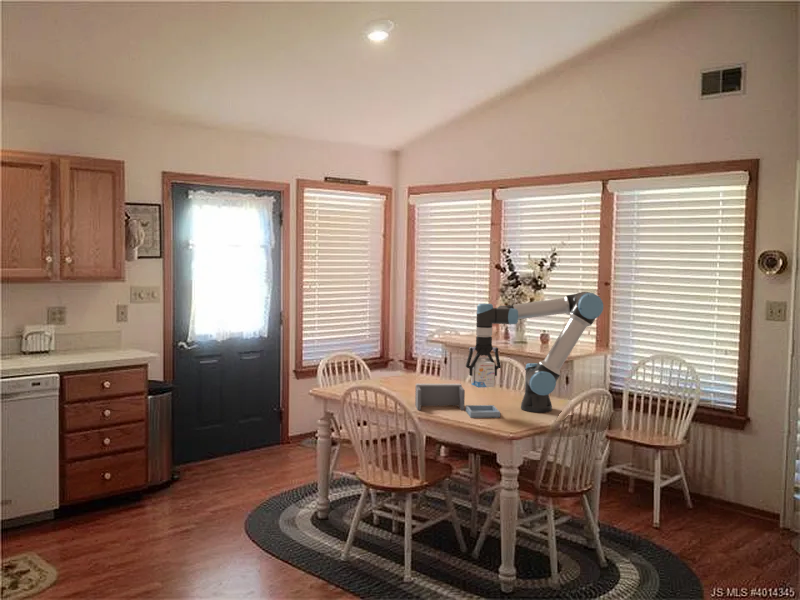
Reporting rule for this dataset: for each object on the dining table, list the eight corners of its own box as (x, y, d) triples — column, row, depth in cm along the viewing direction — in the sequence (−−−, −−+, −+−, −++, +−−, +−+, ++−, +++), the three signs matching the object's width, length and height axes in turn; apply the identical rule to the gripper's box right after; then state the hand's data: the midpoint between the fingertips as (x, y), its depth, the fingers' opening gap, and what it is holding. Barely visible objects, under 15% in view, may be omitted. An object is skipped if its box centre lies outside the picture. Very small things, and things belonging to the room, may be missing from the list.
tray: (493, 410, 350) (493, 405, 350) (500, 417, 335) (500, 412, 335) (465, 410, 349) (465, 405, 349) (470, 417, 334) (470, 412, 334)
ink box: (477, 387, 336) (478, 359, 335) (471, 384, 344) (471, 356, 343) (494, 387, 338) (495, 359, 337) (487, 383, 346) (488, 356, 345)
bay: (460, 404, 362) (460, 383, 361) (464, 410, 349) (464, 388, 348) (415, 404, 360) (415, 383, 360) (417, 410, 348) (417, 388, 347)
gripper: (505, 335, 344) (503, 381, 345) (460, 334, 342) (458, 381, 344) (508, 337, 336) (507, 384, 338) (462, 336, 335) (461, 384, 336)
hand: (482, 382), depth 341 cm, fingers closed on ink box, 9 cm apart
